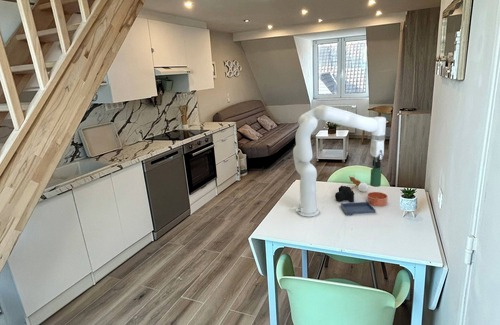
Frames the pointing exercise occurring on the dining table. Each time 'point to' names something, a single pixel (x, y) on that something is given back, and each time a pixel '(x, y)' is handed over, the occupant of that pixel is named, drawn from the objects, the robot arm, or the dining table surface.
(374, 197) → the bowl
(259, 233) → the dining table surface
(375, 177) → the bottle
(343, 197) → the film camera
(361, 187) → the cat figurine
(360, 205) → the tray
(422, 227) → the dining table surface
